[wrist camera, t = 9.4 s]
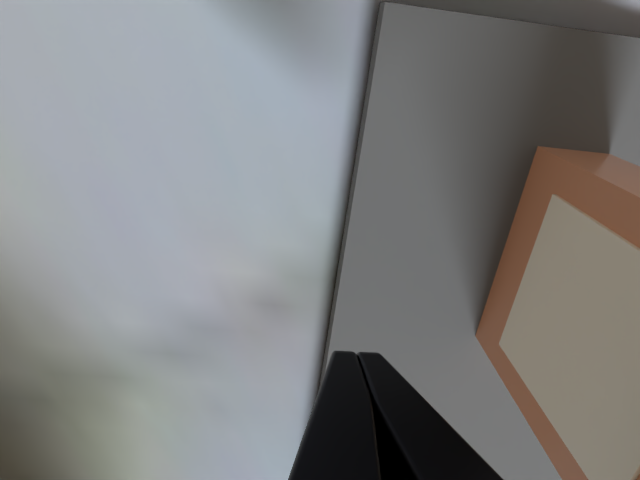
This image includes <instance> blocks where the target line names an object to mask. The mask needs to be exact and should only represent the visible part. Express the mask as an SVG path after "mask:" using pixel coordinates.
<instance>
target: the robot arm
mask: <svg viewBox="0 0 640 480" xmlns="http://www.w3.org/2000/svg"><path fill="white" fill-rule="evenodd" d="M288 480H504V479H503V478H502V477H501V476H500V475H499V474H498V473H497V472H496V471H495V470H494V469H493V468H492V467H491V466H490V465H489V464H488V463H487V462H486V461H485V460H484V459H483V458H482V457H481V456H480V455H479V454H478V453H477V452H476V451H475V450H474V449H473V448H472V447H471V446H470V445H469V444H468V443H467V442H466V441H465V439H464V438H463V437H462V436H461V435H460V434H459V433H458V432H457V431H456V430H455V429H454V428H453V427H452V426H451V425H450V424H449V423H448V422H447V421H446V420H445V419H444V418H443V417H442V416H441V415H440V414H439V413H438V412H437V411H436V410H435V409H434V408H433V407H432V406H431V405H430V404H429V403H428V402H427V401H426V400H425V399H424V398H423V397H422V396H421V395H420V394H419V392H418V391H417V390H416V389H415V388H414V387H413V386H412V385H411V384H410V383H409V382H408V381H407V380H406V379H405V378H404V377H403V376H402V375H401V374H400V373H399V372H398V371H397V370H396V369H395V368H394V367H393V366H392V365H391V364H390V363H389V362H388V361H387V360H386V359H385V358H384V357H383V356H382V355H381V354H380V353H376V352H358V353H357V354H356V353H355V352H353V351H333V352H332V354H331V357H330V360H329V363H328V366H327V368H326V371H325V374H324V377H323V380H322V383H321V386H320V389H319V392H318V395H317V397H316V400H315V403H314V406H313V409H312V412H311V415H310V418H309V421H308V423H307V426H306V429H305V432H304V435H303V438H302V441H301V444H300V447H299V450H298V452H297V455H296V458H295V461H294V464H293V467H292V470H291V473H290V476H289V478H288Z"/></svg>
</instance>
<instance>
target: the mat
mask: <svg viewBox="0 0 640 480" xmlns="http://www.w3.org/2000/svg"><path fill="white" fill-rule="evenodd" d="M538 146H542V147H551V148H560V149H569V150H578V151H588V152H597V153H606V154H611V155H613V156H616V157H618V158H620V159H623V160H625V161H628V162H630V163H632V164H635V165H637V166H640V38H637V37H629V36H622V35H615V34H608V33H601V32H594V31H587V30H580V29H573V28H566V27H559V26H552V25H545V24H538V23H531V22H524V21H517V20H510V19H503V18H496V17H489V16H482V15H475V14H468V13H461V12H454V11H447V10H439V9H432V8H425V7H418V6H411V5H404V4H397V3H390V2H380V5H379V12H378V18H377V24H376V31H375V37H374V43H373V50H372V56H371V63H370V69H369V75H368V82H367V88H366V94H365V101H364V107H363V113H362V120H361V126H360V132H359V139H358V145H357V151H356V158H355V164H354V170H353V177H352V183H351V189H350V196H349V202H348V208H347V215H346V221H345V227H344V234H343V240H342V246H341V253H340V259H339V266H338V272H337V278H336V285H335V291H334V297H333V304H332V310H331V316H330V323H329V329H328V335H327V342H326V348H325V354H324V361H323V367H322V373H321V380H320V386H321V383H322V380H323V377H324V374H325V371H326V368H327V366H328V363H329V360H330V357H331V354H332V352H333V351H353V352H355V353H356V354H357V353H358V352H376V353H380V354H381V355H382V356H383V357H384V358H385V359H386V360H387V361H388V362H389V363H390V364H391V365H392V366H393V367H394V368H395V369H396V370H397V371H398V372H399V373H400V374H401V375H402V376H403V377H404V378H405V379H406V380H407V381H408V382H409V383H410V384H411V385H412V386H413V387H414V388H415V389H416V390H417V391H418V392H419V394H420V395H421V396H422V397H423V398H424V399H425V400H426V401H427V402H428V403H429V404H430V405H431V406H432V407H433V408H434V409H435V410H436V411H437V412H438V413H439V414H440V415H441V416H442V417H443V418H444V419H445V420H446V421H447V422H448V423H449V424H450V425H451V426H452V427H453V428H454V429H455V430H456V431H457V432H458V433H459V434H460V435H461V436H462V437H463V438H464V439H465V441H466V442H467V443H468V444H469V445H470V446H471V447H472V448H473V449H474V450H475V451H476V452H477V453H478V454H479V455H480V456H481V457H482V458H483V459H484V460H485V461H486V462H487V463H488V464H489V465H490V466H491V467H492V468H493V469H494V470H495V471H496V472H497V473H498V474H499V475H500V476H501V477H502V478H503V479H504V480H562V479H561V477H560V475H559V474H558V472H557V470H556V469H555V467H554V465H553V464H552V462H551V460H550V459H549V457H548V455H547V454H546V452H545V450H544V449H543V447H542V446H541V444H540V442H539V441H538V439H537V437H536V436H535V434H534V432H533V431H532V429H531V427H530V426H529V424H528V422H527V421H526V419H525V417H524V416H523V414H522V412H521V411H520V409H519V407H518V406H517V404H516V403H515V401H514V399H513V398H512V396H511V394H510V393H509V391H508V389H507V388H506V386H505V384H504V383H503V381H502V379H501V378H500V376H499V374H498V373H497V371H496V369H495V368H494V366H493V365H492V363H491V361H490V360H489V358H488V356H487V355H486V353H485V351H484V350H483V348H482V346H481V345H480V343H479V341H478V340H477V338H476V336H475V335H476V332H477V329H478V326H479V323H480V320H481V317H482V314H483V311H484V308H485V305H486V302H487V299H488V296H489V293H490V290H491V287H492V284H493V281H494V277H495V274H496V271H497V268H498V265H499V262H500V259H501V256H502V253H503V250H504V247H505V244H506V241H507V238H508V235H509V232H510V229H511V226H512V223H513V220H514V217H515V214H516V211H517V207H518V204H519V201H520V198H521V195H522V192H523V189H524V186H525V183H526V180H527V177H528V174H529V171H530V168H531V165H532V162H533V159H534V156H535V153H536V150H537V147H538ZM320 386H319V389H320Z"/></svg>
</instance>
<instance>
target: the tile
mask: <svg viewBox="0 0 640 480" xmlns="http://www.w3.org/2000/svg"><path fill="white" fill-rule="evenodd" d="M475 336H476V338H477V340H478V341H479V343H480V345H481V346H482V348H483V350H484V351H485V353H486V355H487V356H488V358H489V360H490V361H491V363H492V365H493V366H494V368H495V369H496V371H497V373H498V374H499V376H500V378H501V379H502V381H503V383H504V384H505V386H506V388H507V389H508V391H509V393H510V394H511V396H512V398H513V399H514V401H515V403H516V404H517V406H518V407H519V409H520V411H521V412H522V414H523V416H524V417H525V419H526V421H527V422H528V424H529V426H530V427H531V429H532V431H533V432H534V434H535V436H536V437H537V439H538V441H539V442H540V444H541V446H542V447H543V449H544V450H545V452H546V454H547V455H548V457H549V459H550V460H551V462H552V464H553V465H554V467H555V469H556V470H557V472H558V474H559V475H560V477H561V479H562V480H640V166H637V165H635V164H632V163H630V162H628V161H625V160H623V159H620V158H618V157H616V156H613V155H611V154H606V153H597V152H588V151H578V150H569V149H560V148H551V147H542V146H538V147H537V150H536V153H535V156H534V159H533V162H532V165H531V168H530V171H529V174H528V177H527V180H526V183H525V186H524V189H523V192H522V195H521V198H520V201H519V204H518V207H517V211H516V214H515V217H514V220H513V223H512V226H511V229H510V232H509V235H508V238H507V241H506V244H505V247H504V250H503V253H502V256H501V259H500V262H499V265H498V268H497V271H496V274H495V277H494V281H493V284H492V287H491V290H490V293H489V296H488V299H487V302H486V305H485V308H484V311H483V314H482V317H481V320H480V323H479V326H478V329H477V332H476V335H475Z"/></svg>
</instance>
